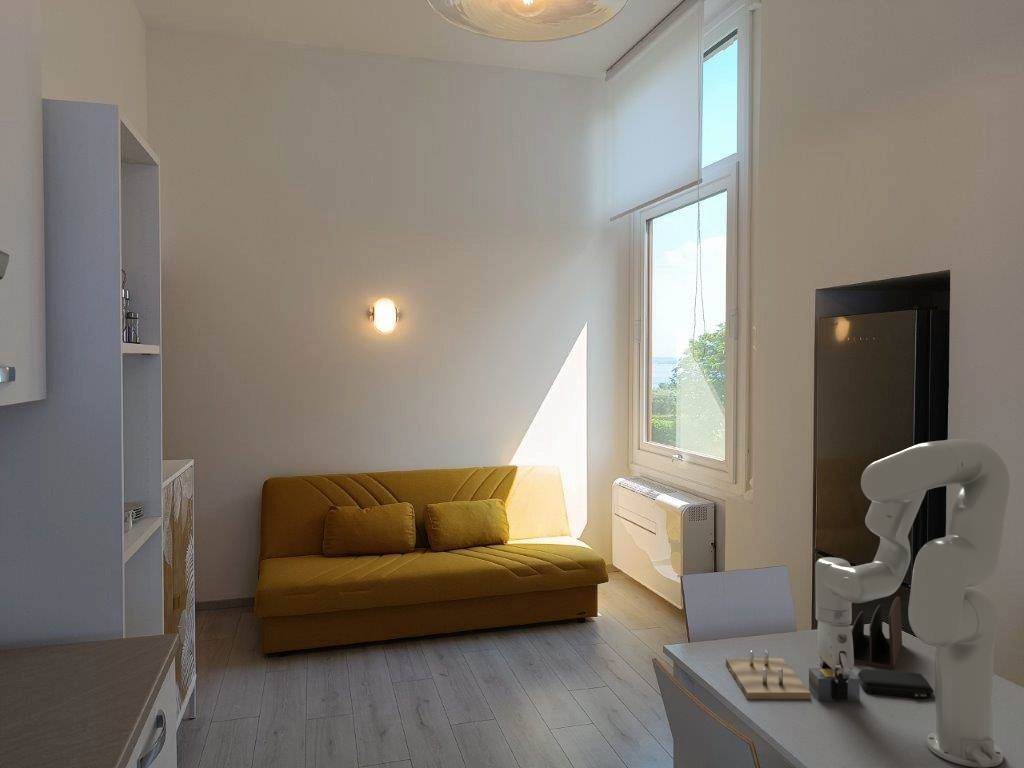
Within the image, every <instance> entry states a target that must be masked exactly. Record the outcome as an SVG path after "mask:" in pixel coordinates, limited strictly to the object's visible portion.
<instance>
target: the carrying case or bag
mask: <svg viewBox="0 0 1024 768" xmlns="http://www.w3.org/2000/svg"><path fill="white" fill-rule="evenodd" d="M857 677H858V678H859V679H860V684H861V686H862V688H863V689H864V690H865V691H866V692H867V693H869V694H872V695H873V694H875V695H884V696H896V697H908V698H915V699H916V698H918V697H920V698H919V699H928V698H930V697H932V696H933V695H934V693H935V690H934V689H933V687H932V686H931V684H930V683H929V681H928V680H927V678H925V677H924V675H923V674H921V673H917V672H910V671H909V672H906V671H895V670H887V669H885V670H884V669H874V668H873V669H868V668H862V669H861V670H860V671H859V672H858V673H857Z"/></svg>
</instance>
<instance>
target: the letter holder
mask: <svg viewBox="0 0 1024 768" xmlns="http://www.w3.org/2000/svg"><path fill="white" fill-rule="evenodd" d="M901 607H902V606H901V597H900V596H896V597H895V598H894V600H893V602H892V604H891V607H890V611H889V614H888V636H889V638H888V637H886V636H885V635H884V632H883V605H882V604H879V605H878V606H877V607H876V609H875V610H874V612H873V613H872V618H871V619H870V624H869V635H868V634H865V616H866V615H865V614H866V613H865V611H863V610H861V611H860V612H859V614H858V615H857V617H856V619H855V621H854V623H853V624H852V627H851V631H852V639H853V653H854V664H857V663H858V665H862V664H864V665H863V666H869V667H874V668H881V669H883V670H884V669H885V670H889V671H894V669H895V665H896V662H897V659H898V657H899V654H900V651H901V649H902V646H903V635H902V634H903V632H902V631H903V629H902V627H903V625H902V609H901Z"/></svg>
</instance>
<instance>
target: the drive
mask: <svg viewBox="0 0 1024 768" xmlns="http://www.w3.org/2000/svg"><path fill="white" fill-rule="evenodd" d="M849 670H850V676H849V678H848V699H847V700H834V699H833V698H832V681H834V678H833V671H832V668H821V667H812V668H811V667H809V668H808V690H809V691H810V692H811V694H812V695H813V697H814V698H815V699H816V700H817V701H818V702H860V701H861V697H860V695H861V694H860V692H861V690H860V689H861V688H860V687H861V686H860V684H861V682H860V679H859V678H858V675H856V674H855V673H854V672H853V671H852V670H851V669H849ZM839 673H841V671H837V676H838V675H839Z"/></svg>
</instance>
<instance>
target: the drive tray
mask: <svg viewBox="0 0 1024 768" xmlns="http://www.w3.org/2000/svg"><path fill="white" fill-rule="evenodd" d="M748 652H749V654H748V655H749V656H748V657H745V658H743V657H742V658H741V657H740V658H738V657H735V658H734V657H730V658H725V665H726V664H727V665H726V667H727V666H728V667H727V668H729V669H730V670H729V669H728V670H729V671H731V672H730V674H731V675H732V676H734V677H733V678H734V680H735V679H736V680H735V681H737V682H736V683H737V684H739V685H738V686H739V688H740V690H741V689H742V690H741V691H742V693H743V692H744V693H743V694H744V696H745V695H746V696H745V697H747V698H746V699H747V700H811V699H812V697H811V694H812V693H811V691H810V690H809V688H808V687H807V686H806V685H805V684H804V683H803V681H802V680H801V679H800V678H799V676H797V674H796V673H795V672H794V671H793V669H792V668H791V667H790V666H789V664H788V663H787V662H786V661H785V660H784V658H782V657H778V658H777V657H774V658H773V657H770V656H769V650H764V651H763V654H764V656H763V657H762V658H761V657H760V658H759V657H758V658H757V657H755V653H754V650H749V651H748Z"/></svg>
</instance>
